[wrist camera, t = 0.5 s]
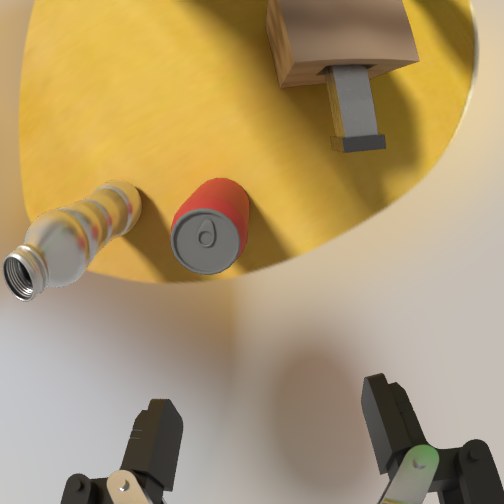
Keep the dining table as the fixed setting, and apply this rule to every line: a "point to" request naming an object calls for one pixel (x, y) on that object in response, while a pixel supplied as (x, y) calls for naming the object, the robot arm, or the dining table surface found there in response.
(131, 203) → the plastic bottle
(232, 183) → the beer can
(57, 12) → the dining table surface
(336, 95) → the shaft
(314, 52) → the brown wooden block
